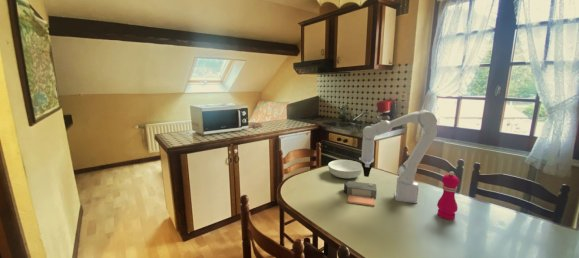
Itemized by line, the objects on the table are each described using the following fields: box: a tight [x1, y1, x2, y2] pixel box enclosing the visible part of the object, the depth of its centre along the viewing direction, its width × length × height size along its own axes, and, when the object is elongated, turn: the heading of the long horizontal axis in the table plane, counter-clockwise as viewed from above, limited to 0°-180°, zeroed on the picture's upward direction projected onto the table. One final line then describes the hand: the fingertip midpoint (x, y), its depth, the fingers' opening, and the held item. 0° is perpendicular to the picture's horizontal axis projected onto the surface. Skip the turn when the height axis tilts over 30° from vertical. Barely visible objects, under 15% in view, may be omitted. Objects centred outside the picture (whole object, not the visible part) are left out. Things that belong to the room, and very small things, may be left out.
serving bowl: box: [327, 159, 363, 179], centre depth 147 cm, size 21×21×7 cm
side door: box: [347, 195, 376, 207], centre depth 115 cm, size 12×1×7 cm
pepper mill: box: [436, 171, 460, 221], centre depth 101 cm, size 7×7×20 cm
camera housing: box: [343, 180, 378, 200], centre depth 123 cm, size 16×8×5 cm, turn 73°
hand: (366, 176), depth 122 cm, fingers closed
